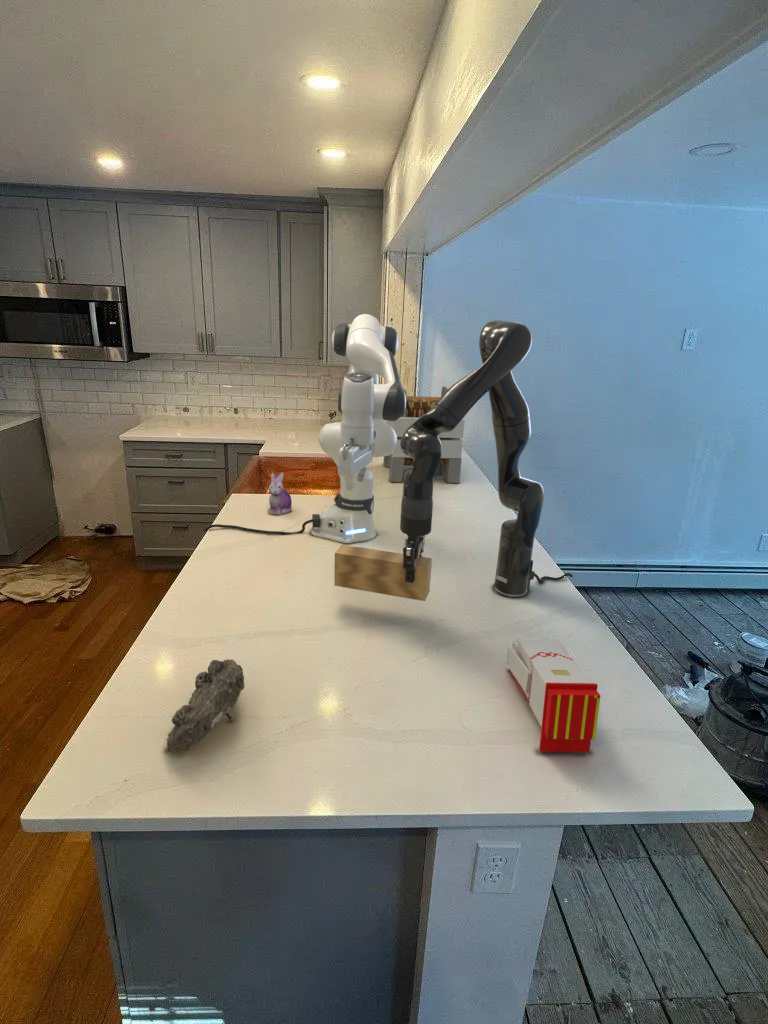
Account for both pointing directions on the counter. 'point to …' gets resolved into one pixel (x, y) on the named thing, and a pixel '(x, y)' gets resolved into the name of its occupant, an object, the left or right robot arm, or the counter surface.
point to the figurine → (278, 496)
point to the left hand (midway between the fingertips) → (355, 485)
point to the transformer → (449, 440)
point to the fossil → (206, 705)
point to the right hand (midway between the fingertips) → (412, 576)
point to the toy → (556, 694)
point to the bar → (380, 572)
